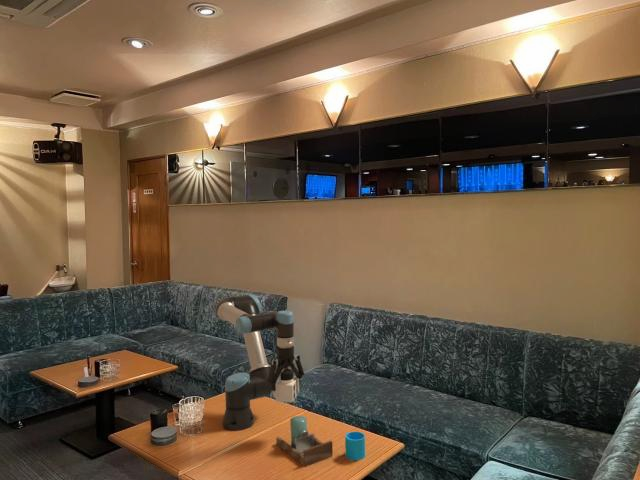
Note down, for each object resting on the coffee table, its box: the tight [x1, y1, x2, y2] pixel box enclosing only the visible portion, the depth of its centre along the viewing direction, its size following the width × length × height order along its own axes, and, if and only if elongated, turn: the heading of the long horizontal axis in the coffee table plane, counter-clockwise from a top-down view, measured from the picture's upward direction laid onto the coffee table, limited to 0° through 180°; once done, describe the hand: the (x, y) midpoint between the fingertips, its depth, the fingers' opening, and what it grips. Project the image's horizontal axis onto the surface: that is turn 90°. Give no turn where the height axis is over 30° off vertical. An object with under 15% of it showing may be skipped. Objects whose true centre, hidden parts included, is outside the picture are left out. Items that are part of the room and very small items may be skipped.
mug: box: [344, 431, 366, 461], centre depth 191 cm, size 12×8×8 cm
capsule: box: [290, 415, 308, 448], centre depth 197 cm, size 7×7×12 cm
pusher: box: [294, 429, 315, 453], centre depth 194 cm, size 1×9×8 cm, turn 125°
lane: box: [275, 432, 334, 467], centre depth 194 cm, size 23×13×6 cm, turn 35°
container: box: [275, 368, 298, 403], centre depth 206 cm, size 8×8×13 cm
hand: (286, 394), depth 206 cm, fingers closed on container, 10 cm apart
